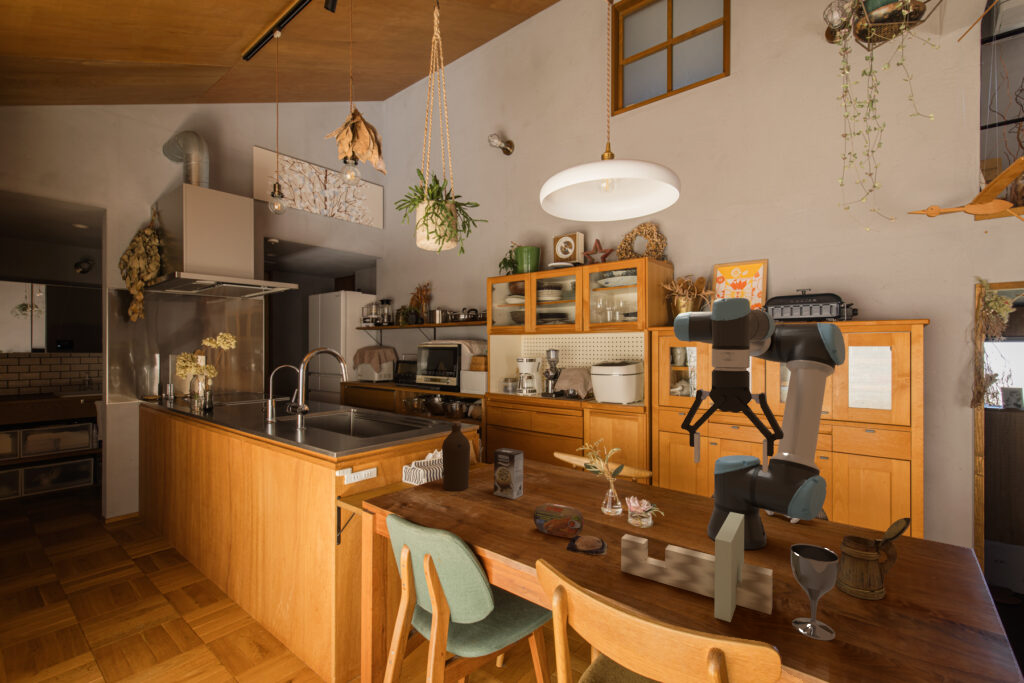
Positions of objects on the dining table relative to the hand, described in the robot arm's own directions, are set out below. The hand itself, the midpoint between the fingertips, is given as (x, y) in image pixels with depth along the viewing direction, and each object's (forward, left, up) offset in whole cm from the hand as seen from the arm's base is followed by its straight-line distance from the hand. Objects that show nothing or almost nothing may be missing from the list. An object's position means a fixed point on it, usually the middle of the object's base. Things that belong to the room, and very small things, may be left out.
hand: (729, 466), depth 102 cm
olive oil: (+53, -87, -29) cm, 106 cm away
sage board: (0, +1, -29) cm, 29 cm away
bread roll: (+22, -29, -30) cm, 47 cm away
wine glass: (-9, +13, -29) cm, 33 cm away
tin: (+27, -39, -29) cm, 56 cm away
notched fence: (+6, -5, -29) cm, 30 cm away
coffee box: (+35, -75, -29) cm, 88 cm away
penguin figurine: (-47, -38, -29) cm, 67 cm away
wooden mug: (-33, +4, -29) cm, 44 cm away
